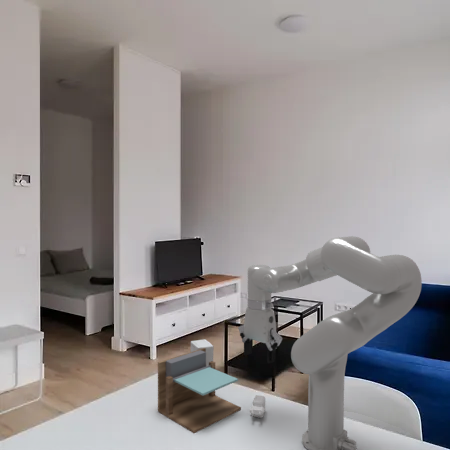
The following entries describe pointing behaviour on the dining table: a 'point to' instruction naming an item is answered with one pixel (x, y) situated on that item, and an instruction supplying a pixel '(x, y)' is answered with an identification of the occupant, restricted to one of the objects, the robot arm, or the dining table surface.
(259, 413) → the power adapter
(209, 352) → the skincare box
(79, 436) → the dining table surface
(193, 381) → the flap
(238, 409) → the stand
